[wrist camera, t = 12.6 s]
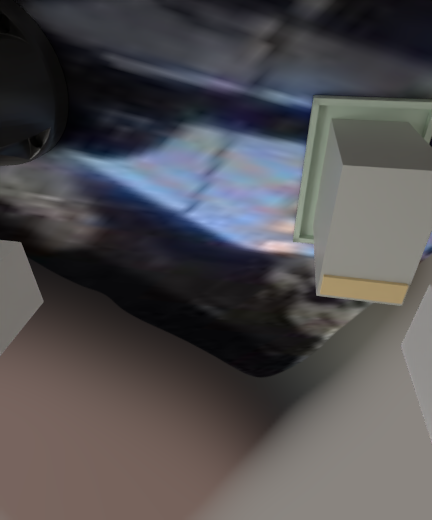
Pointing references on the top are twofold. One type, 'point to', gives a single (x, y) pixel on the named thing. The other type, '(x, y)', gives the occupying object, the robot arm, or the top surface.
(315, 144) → the tray
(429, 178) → the upright pale grey block
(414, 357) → the robot arm
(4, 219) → the top surface
